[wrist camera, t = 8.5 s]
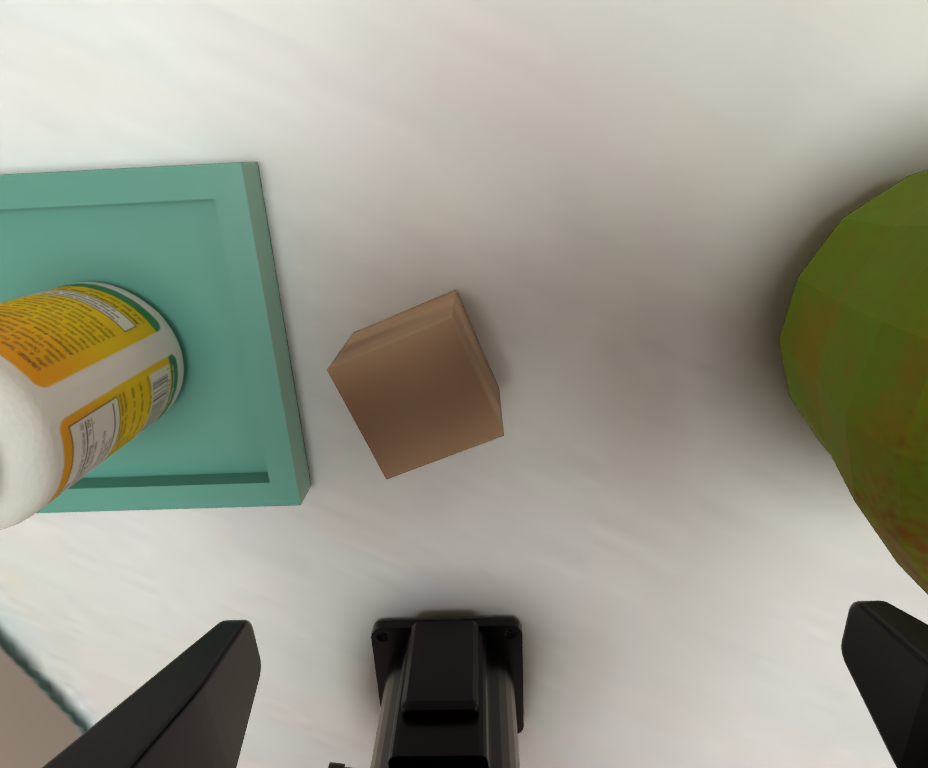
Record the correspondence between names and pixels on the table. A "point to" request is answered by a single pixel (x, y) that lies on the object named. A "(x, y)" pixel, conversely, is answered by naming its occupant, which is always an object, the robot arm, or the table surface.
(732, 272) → the table surface
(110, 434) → the supplement bottle
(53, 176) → the tray
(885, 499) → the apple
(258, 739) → the table surface
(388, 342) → the walnut cube
